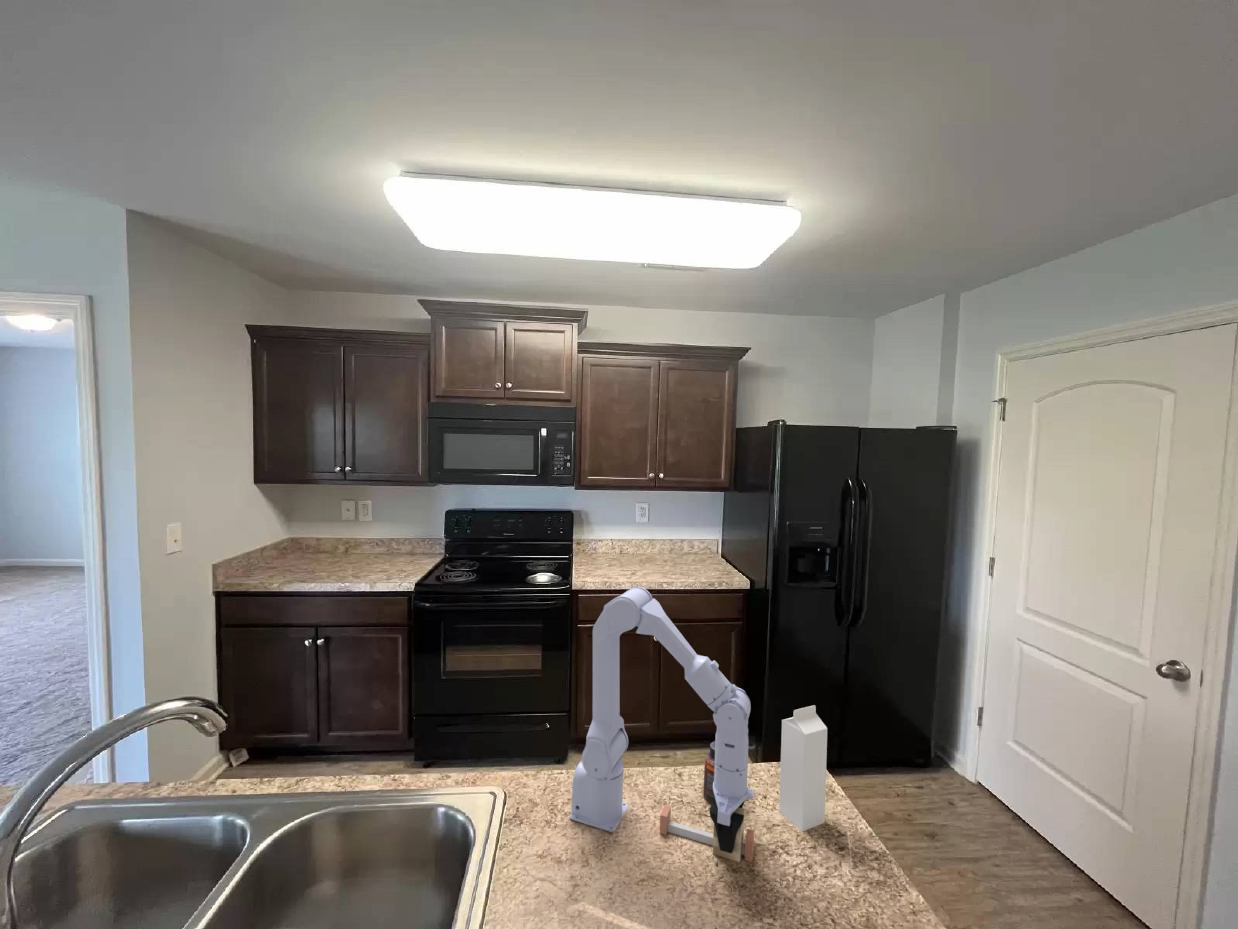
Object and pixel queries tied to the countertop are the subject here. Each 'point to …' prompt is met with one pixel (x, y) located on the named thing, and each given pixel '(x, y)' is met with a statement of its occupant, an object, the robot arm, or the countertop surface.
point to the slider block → (737, 846)
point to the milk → (803, 768)
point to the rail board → (701, 833)
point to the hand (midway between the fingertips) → (728, 839)
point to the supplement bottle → (709, 775)
